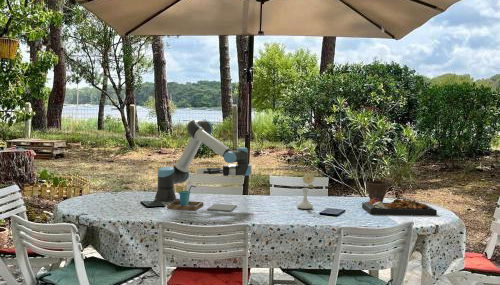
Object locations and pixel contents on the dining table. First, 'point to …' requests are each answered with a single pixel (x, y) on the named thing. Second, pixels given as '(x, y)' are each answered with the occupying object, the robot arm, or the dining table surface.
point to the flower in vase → (305, 203)
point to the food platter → (398, 208)
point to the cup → (184, 195)
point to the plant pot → (376, 189)
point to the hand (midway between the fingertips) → (197, 171)
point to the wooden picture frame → (174, 206)
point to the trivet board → (222, 207)
